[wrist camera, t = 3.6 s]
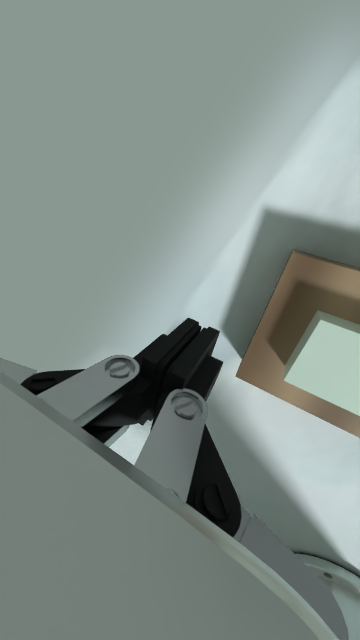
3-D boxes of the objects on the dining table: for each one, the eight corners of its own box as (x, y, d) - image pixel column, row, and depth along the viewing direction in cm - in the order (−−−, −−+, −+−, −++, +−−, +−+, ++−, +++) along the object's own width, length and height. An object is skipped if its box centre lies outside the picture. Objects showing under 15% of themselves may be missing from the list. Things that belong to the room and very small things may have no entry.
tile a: (405, 340, 13) (421, 356, 11) (355, 397, 15) (363, 417, 14) (317, 309, 15) (320, 319, 13) (284, 366, 17) (283, 380, 15)
